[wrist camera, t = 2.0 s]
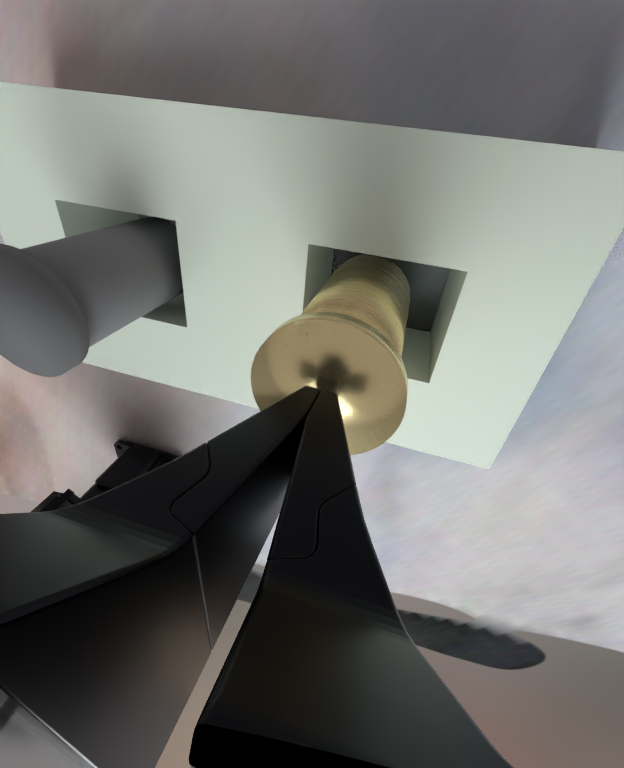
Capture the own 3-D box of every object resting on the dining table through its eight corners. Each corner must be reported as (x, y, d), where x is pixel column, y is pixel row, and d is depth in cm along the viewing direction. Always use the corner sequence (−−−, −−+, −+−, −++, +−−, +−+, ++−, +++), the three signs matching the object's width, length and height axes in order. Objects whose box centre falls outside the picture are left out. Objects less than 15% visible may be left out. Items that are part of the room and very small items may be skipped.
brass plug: (404, 350, 16) (386, 471, 10) (315, 331, 17) (250, 433, 11) (430, 256, 14) (427, 342, 8) (326, 239, 15) (250, 305, 9)
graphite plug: (205, 307, 18) (89, 389, 12) (132, 291, 19) (-12, 361, 13) (198, 217, 16) (48, 262, 10) (115, 203, 16) (-73, 237, 10)
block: (478, 405, 20) (488, 469, 16) (109, 318, 24) (45, 352, 20) (594, 152, 13) (663, 156, 9) (54, 91, 17) (-60, 75, 13)
